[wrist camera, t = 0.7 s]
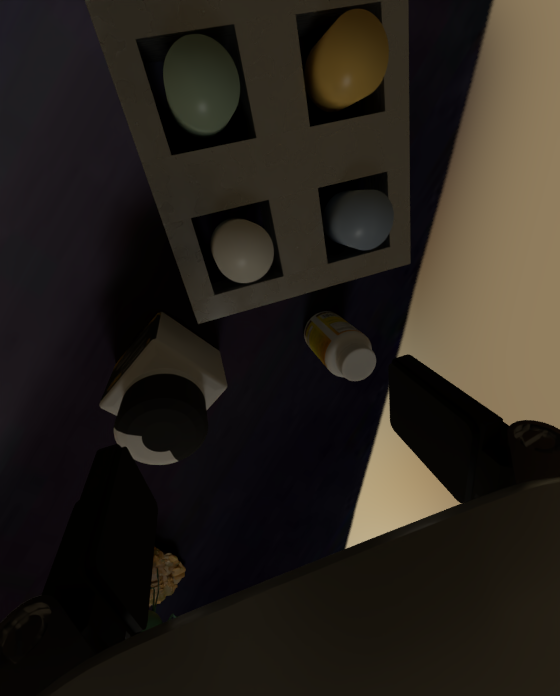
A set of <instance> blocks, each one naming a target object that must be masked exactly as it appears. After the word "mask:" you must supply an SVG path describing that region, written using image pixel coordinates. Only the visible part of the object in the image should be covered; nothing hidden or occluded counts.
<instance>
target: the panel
mask: <svg viewBox="0 0 560 696" xmlns="http://www.w3.org/2000/svg"><path fill="white" fill-rule="evenodd" d="M85 2H86V5H87V8H88V11H89V13H90V16H91V19H92V22H93V25H94V28H95V31H96V33H97V36H98V39H99V42H100V45H101V48H102V51H103V53H104V56H105V59H106V62H107V65H108V68H109V71H110V74H111V76H112V79H113V82H114V85H115V88H116V91H117V94H118V96H119V99H120V102H121V105H122V108H123V111H124V114H125V116H126V119H127V122H128V125H129V128H130V131H131V134H132V136H133V139H134V142H135V145H136V148H137V151H138V154H139V156H140V159H141V162H142V165H143V168H144V171H145V174H146V176H147V179H148V182H149V185H150V188H151V191H152V194H153V196H154V199H155V202H156V205H157V208H158V211H159V214H160V216H161V219H162V222H163V225H164V228H165V231H166V234H167V236H168V239H169V242H170V245H171V248H172V251H173V254H174V257H175V259H176V262H177V265H178V268H179V271H180V274H181V277H182V279H183V282H184V285H185V288H186V291H187V294H188V297H189V299H190V302H191V305H192V308H193V311H194V314H195V317H196V319H197V322H198V324H200V323H204V322H207V321H211V320H214V319H218V318H221V317H225V316H228V315H232V314H235V313H239V312H242V311H246V310H249V309H253V308H256V307H260V306H263V305H267V304H270V303H274V302H277V301H281V300H284V299H288V298H291V297H295V296H298V295H302V294H305V293H309V292H312V291H316V290H319V289H323V288H326V287H330V286H333V285H337V284H340V283H344V282H347V281H351V280H354V279H358V278H361V277H365V276H368V275H372V274H375V273H379V272H382V271H386V270H389V269H393V268H396V267H400V266H403V265H407V264H410V159H409V32H408V0H85ZM352 9H364V10H367V11H369V12H371V13H372V14H374V15H375V16H376V17H377V18H378V19H379V21H380V22H381V24H382V26H383V27H384V30H385V32H386V35H387V39H388V46H389V59H388V65H387V69H386V73H385V75H384V78H383V79H382V81H381V83H380V84H379V86H378V87H377V88H376V90H375V91H373V92H372V93H371V94H370V95H368V96H366V97H364V98H363V99H361V100H359V101H358V105H359V117H355V118H351V119H346V120H341V121H336V122H331V123H327V124H322V125H317V126H312V127H310V123H309V116H308V108H307V100H306V92H305V85H304V77H303V69H302V61H301V54H300V46H299V38H301V37H307V36H313V35H319V34H325V33H326V32H327V31H328V29H329V28H330V27H331V26H332V25H333V24H334V22H335V21H336V20H337V19H338V18H339V17H340V16H341V15H342V14H344V13H345V12H347V11H349V10H352ZM190 34H201V35H205V36H208V37H210V38H212V39H214V40H215V41H217V42H218V43H219V44H221V45H222V46H223V47H224V48H225V49H226V50H227V52H228V53H229V55H230V56H231V58H232V60H233V62H234V64H235V66H236V69H237V72H238V76H239V81H240V96H239V101H238V106H239V111H240V115H241V120H242V125H243V129H244V134H245V139H246V140H245V141H240V142H235V143H230V144H225V145H221V146H216V147H211V148H206V149H201V150H197V151H192V152H187V153H182V154H177V155H172V156H171V153H170V149H169V146H168V143H167V140H166V136H165V133H164V130H163V127H162V124H161V120H160V117H159V114H158V111H157V107H156V104H155V101H154V98H153V94H152V91H151V88H150V85H149V81H148V78H147V75H146V72H145V69H144V65H143V63H149V62H155V61H161V60H165V58H166V55H167V53H168V51H169V49H170V48H171V46H172V45H173V44H174V43H175V42H176V41H177V40H178V39H180V38H181V37H183V36H186V35H190ZM362 177H363V179H364V190H378V191H380V192H382V193H384V194H385V195H386V196H387V197H388V198H389V200H390V202H391V204H392V206H393V211H394V220H393V225H392V228H391V231H390V233H389V235H388V236H387V238H386V239H385V240H384V241H383V242H382V243H381V244H380V245H379V246H377V247H375V248H373V249H371V250H358V249H355V248H352V247H345V248H341V249H338V250H334V251H330V252H327V253H326V247H325V240H324V232H323V224H322V216H321V209H320V201H319V193H318V188H320V187H324V186H328V185H332V184H337V183H341V182H345V181H349V180H353V179H358V178H362ZM257 202H259V205H260V210H261V215H262V220H263V224H264V229H265V231H266V232H267V233H268V235H269V236H270V238H271V240H272V243H273V248H274V257H273V262H272V267H271V268H269V270H268V271H267V273H266V274H265V275H264V276H262V277H261V278H260V279H258V280H256V281H253V282H249V283H239V282H235V281H233V280H231V279H226V280H223V281H219V282H215V283H212V284H211V282H210V279H209V276H208V272H207V269H206V266H205V263H204V259H203V256H202V253H201V250H200V246H199V243H198V240H197V237H196V234H195V230H194V227H193V224H192V221H191V218H194V217H198V216H202V215H206V214H210V213H215V212H219V211H223V210H227V209H231V208H236V207H240V206H244V205H248V204H252V203H257Z"/></svg>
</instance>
